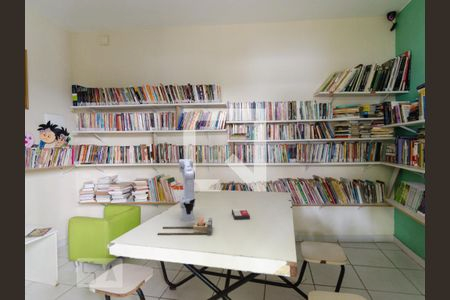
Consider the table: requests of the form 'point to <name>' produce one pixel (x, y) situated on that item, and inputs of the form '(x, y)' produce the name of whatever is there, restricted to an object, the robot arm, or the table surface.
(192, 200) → the robot arm
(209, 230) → the rail board
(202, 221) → the dowel
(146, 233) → the table surface
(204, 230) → the wooden square frame
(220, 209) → the table surface
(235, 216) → the hard drive
